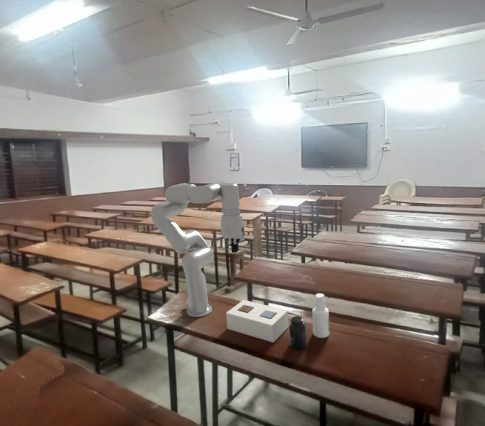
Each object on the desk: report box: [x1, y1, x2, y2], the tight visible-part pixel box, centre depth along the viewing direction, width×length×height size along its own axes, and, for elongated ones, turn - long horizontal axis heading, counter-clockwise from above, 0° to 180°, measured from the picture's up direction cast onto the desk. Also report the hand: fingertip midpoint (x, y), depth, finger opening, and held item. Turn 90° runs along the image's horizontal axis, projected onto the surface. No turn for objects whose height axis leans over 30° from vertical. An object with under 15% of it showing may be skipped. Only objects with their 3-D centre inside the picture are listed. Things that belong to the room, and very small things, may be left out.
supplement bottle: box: [288, 315, 307, 351], centre depth 150 cm, size 7×7×12 cm
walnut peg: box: [238, 305, 253, 313], centre depth 169 cm, size 5×5×6 cm
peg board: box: [225, 299, 290, 343], centre depth 166 cm, size 24×14×8 cm, turn 55°
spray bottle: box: [311, 293, 330, 339], centre depth 156 cm, size 7×7×18 cm
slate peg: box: [260, 310, 276, 319], centre depth 163 cm, size 5×5×6 cm
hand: (235, 251), depth 164 cm, fingers closed
